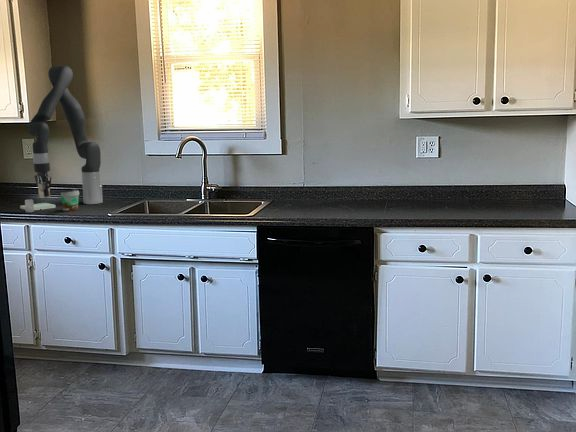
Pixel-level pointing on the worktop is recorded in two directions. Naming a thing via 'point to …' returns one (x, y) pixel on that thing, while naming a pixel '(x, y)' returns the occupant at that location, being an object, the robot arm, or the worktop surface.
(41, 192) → the ash block
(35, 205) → the cutting board
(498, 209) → the worktop surface
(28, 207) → the ceramic jar
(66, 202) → the food container
